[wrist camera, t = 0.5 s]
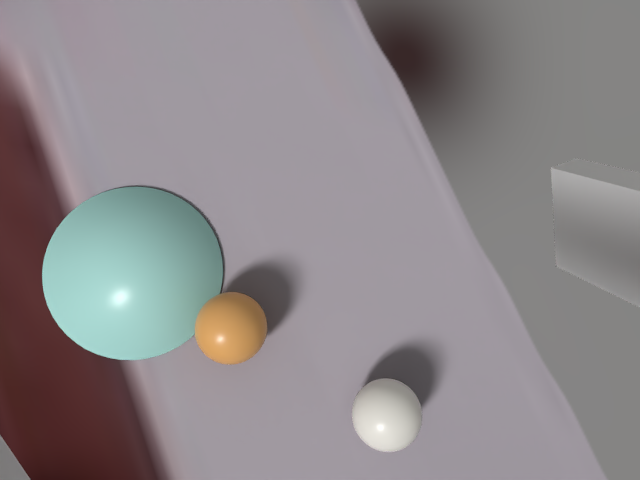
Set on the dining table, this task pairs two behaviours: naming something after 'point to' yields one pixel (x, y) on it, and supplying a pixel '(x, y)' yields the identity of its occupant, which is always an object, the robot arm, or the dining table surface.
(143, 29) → the dining table surface
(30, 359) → the dining table surface
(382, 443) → the cue ball
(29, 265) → the dining table surface
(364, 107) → the dining table surface
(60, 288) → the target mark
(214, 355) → the object ball
